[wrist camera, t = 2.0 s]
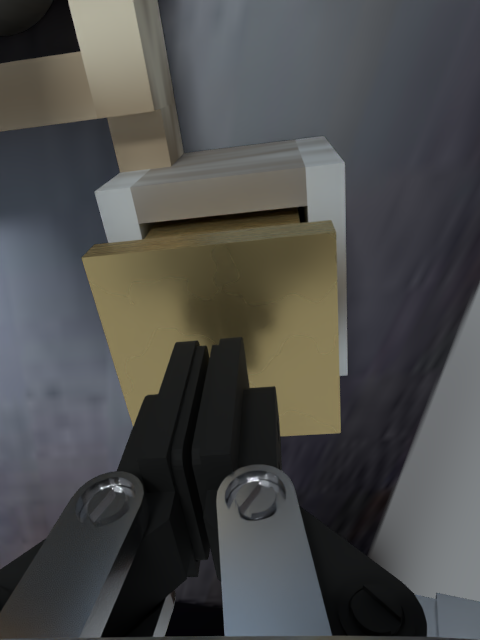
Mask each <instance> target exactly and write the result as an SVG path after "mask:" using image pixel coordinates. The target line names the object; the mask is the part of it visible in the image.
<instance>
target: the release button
mask: <svg viewBox="0 0 480 640" xmlns="http://www.w3.org/2000/svg"><path fill="white" fill-rule="evenodd" d="M82 261H83V265H84V268H85V271H86V274H87V278H88V281H89V284H90V287H91V291H92V294H93V297H94V300H95V304H96V307H97V310H98V313H99V317H100V320H101V323H102V327H103V330H104V333H105V336H106V340H107V343H108V346H109V349H110V353H111V356H112V359H113V362H114V366H115V369H116V372H117V375H118V379H119V382H120V385H121V388H122V392H123V395H124V398H125V402H126V405H127V408H128V411H129V415H130V418H131V421H132V424H133V426H134V424H135V421H136V418H137V416H138V413H139V410H140V408H141V405H142V402H143V400H144V398H145V396H147V395H153V394H158V393H159V390H160V387H161V384H162V381H163V378H164V375H165V372H166V369H167V366H168V363H169V360H170V357H171V354H172V351H173V348H174V345H175V343H176V342H184V341H196V340H198V342H199V344H200V346H205V345H206V346H207V348H208V353H209V358H210V353H211V348H212V345H218V344H219V341H220V339H222V338H234V337H242V338H243V343H244V350H245V357H246V364H247V372H248V379H249V386H250V388H257V387H272V386H275V387H276V394H277V403H278V413H279V424H280V436H296V435H314V434H332V433H341V418H340V375H339V331H338V288H337V245H336V230H335V228H334V226H333V223H332V221H331V220H325V221H316V222H306V223H300V220H299V215H298V210H297V207H291V208H282V209H272V210H263V211H254V212H244V213H235V214H226V215H216V216H207V217H198V218H188V219H179V220H170V221H160V222H156V223H155V224H154V226H153V227H152V228H151V230H150V231H149V233H148V234H147V235H146V237H145V238H144V239H142V240H132V241H122V242H113V243H103V244H94V245H93V246H92V247H91V248H90V249H89V250H88V252H87V253H86V254H85V255H84V256H83V257H82Z"/></svg>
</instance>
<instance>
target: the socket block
mask: <svg viewBox="0 0 480 640" xmlns="http://www.w3.org/2000/svg"><path fill="white" fill-rule="evenodd" d="M68 3H69V7H70V11H71V15H72V19H73V23H74V27H75V31H76V35H77V39H78V43H79V47H80V52H73V53H66V54H60V55H53V56H46V57H40V58H33V59H26V60H19V61H13V62H6V63H0V132H1V131H9V130H16V129H24V128H32V127H39V126H47V125H54V124H62V123H69V122H77V121H84V120H92V119H99V118H107V120H108V124H109V129H110V133H111V137H112V141H113V145H114V149H115V154H116V158H117V162H118V166H119V170H120V173H119V174H118V175H116V176H115V177H114V178H112V179H111V180H110V181H108V182H107V183H105V184H104V185H103V186H101V187H100V188H99V189H97V190H96V191H95V192H94V193H95V196H96V200H97V204H98V207H99V211H100V215H101V218H102V222H103V226H104V229H105V233H106V237H107V240H108V243H113V242H122V241H132V240H142V239H144V238H145V237H146V235H147V234H148V233H149V231H150V230H151V228H152V227H153V226H154V224H155V223H156V222H160V221H170V220H179V219H188V218H198V217H207V216H216V215H226V214H235V213H244V212H254V211H263V210H272V209H282V208H291V207H299V212H300V223H306V222H316V221H325V220H331V221H332V223H333V226H334V228H335V230H336V245H337V288H338V331H339V375H340V376H345V375H348V365H347V286H346V207H345V162H344V161H343V160H342V158H341V157H340V156H339V155H338V153H337V152H336V151H335V150H334V148H333V147H332V146H331V144H330V143H329V142H328V141H327V139H326V138H325V137H324V136H320V137H312V138H303V139H295V140H287V141H279V142H271V143H263V144H254V145H246V146H238V147H230V148H222V149H214V150H205V151H197V152H189V153H184V151H183V145H182V139H181V133H180V128H179V122H178V116H177V110H176V104H175V99H174V93H173V87H172V81H171V75H170V70H169V64H168V58H167V52H166V47H165V41H164V35H163V29H162V23H161V18H160V12H159V6H158V0H68Z"/></svg>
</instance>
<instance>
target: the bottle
mask: <svg viewBox="0 0 480 640" xmlns="http://www.w3.org/2000/svg"><path fill="white" fill-rule="evenodd" d="M52 2H53V0H0V36H9V35H13V34H17V33H20V32H23V31H25V30H27V29H29V28H30V27H32V26H34V25H35V24H36V23H37V22H38V21H39V20H40V19H41V18H42V17H43V16H44V14H45V13H46V12H47V10H48V9H49V7H50V6H51V4H52Z"/></svg>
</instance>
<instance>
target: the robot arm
mask: <svg viewBox="0 0 480 640" xmlns="http://www.w3.org/2000/svg"><path fill="white" fill-rule="evenodd" d="M210 548H211V552H212V556H213V561H214V565H215V569H216V573H217V577H218V579H219V580H220V581H221V583H222V599H223V615H224V629H225V636H213V637H212V636H209V637H208V636H207V637H205V636H204V637H164V636H165V633H166V630H167V626H168V623H169V620H170V617H171V614H172V611H173V607H174V603H175V597H176V593H175V589H176V588H177V587H178V586H179V585H180V584H181V583H183V582H184V581H185V580H186V579H187V577H198V573H199V565H200V560H207V559H208V557H209V551H210ZM0 640H480V602H479V601H474V600H469V599H464V598H460V597H455V596H450V595H445V594H440V593H436V599H433V598H429V597H424V596H418V595H414V593H413V592H412V591H411V590H409V589H408V588H407V587H406V586H405V585H404V584H403V583H402V582H401V581H400V580H398V579H397V578H396V577H394V576H393V575H392V574H390V573H389V572H388V571H386V570H385V569H383V568H382V567H381V566H379V565H378V564H377V563H375V562H374V561H372V560H371V559H370V558H369V557H367V556H366V555H365V554H363V553H362V552H361V551H359V550H358V549H357V548H355V547H354V546H353V545H351V544H350V543H349V542H347V541H346V540H345V539H343V538H342V537H341V536H339V535H338V534H336V533H335V532H334V531H332V530H331V529H330V528H328V527H327V526H326V525H324V524H323V523H322V522H320V521H319V520H318V519H316V518H315V517H314V516H312V515H311V514H310V513H308V512H307V511H306V510H304V509H303V508H302V507H300V506H299V504H298V500H297V496H296V493H295V489H294V486H293V484H292V482H291V480H290V478H289V477H288V476H287V475H286V474H285V473H284V472H283V471H282V464H281V439H280V424H279V413H278V403H277V394H276V387H275V386H272V387H257V388H250V386H249V379H248V372H247V364H246V357H245V350H244V343H243V338H242V337H234V338H222V339H220V341H219V344H218V345H212V348H211V353H210V358H209V353H208V348H207V346H206V345H205V346H200V344H199V342H198V340H196V341H184V342H176V343H175V345H174V348H173V351H172V354H171V357H170V360H169V363H168V366H167V369H166V372H165V375H164V378H163V381H162V384H161V387H160V390H159V393H158V394H153V395H147V396H145V398H144V400H143V402H142V405H141V408H140V410H139V413H138V416H137V418H136V421H135V424H134V426H133V429H132V432H131V434H130V437H129V440H128V442H127V445H126V448H125V450H124V453H123V456H122V459H121V461H120V464H119V467H118V469H117V472H109V473H105V474H102V475H99V476H97V477H95V478H93V479H91V480H89V481H88V482H87V483H85V484H84V485H83V486H82V487H80V488H79V489H78V491H77V492H76V493H75V494H74V496H73V497H72V498H71V500H70V501H69V503H68V505H67V506H66V508H65V509H64V511H63V513H62V514H61V516H60V517H59V519H58V521H57V522H56V524H55V525H54V527H53V529H52V530H51V532H50V533H49V535H48V537H47V538H46V539H45V540H43V541H42V542H40V543H39V544H37V545H36V546H34V547H33V548H31V549H30V550H28V551H27V552H25V553H24V554H23V555H21V556H20V557H18V558H17V559H15V560H14V561H12V562H11V563H9V564H8V565H6V566H5V567H3V568H2V569H0Z"/></svg>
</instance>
